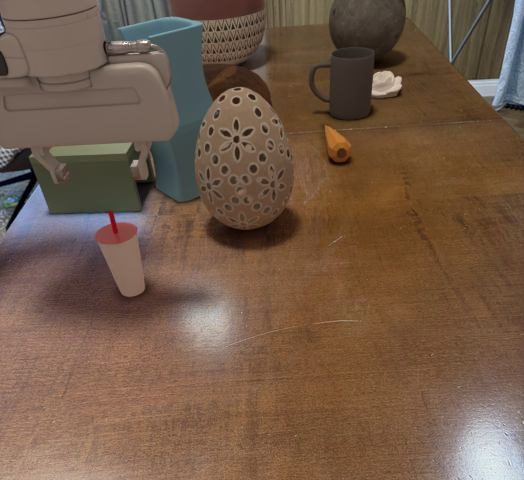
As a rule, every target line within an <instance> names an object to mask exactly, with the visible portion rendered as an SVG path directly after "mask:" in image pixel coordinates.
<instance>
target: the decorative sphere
mask: <svg viewBox="0 0 524 480" xmlns="http://www.w3.org/2000/svg"><path fill="white" fill-rule="evenodd" d="M329 9H330V10H329V15H328V30H329V36H330V39H331V42H332V44H333V46H334V47H335V50H337V49H341V48H348V47H363V48H369V49H371V50H373V51H374V62H375V61H376V62H377V61H378V60H380V59H382V58H383V57H385V56H386V55H388V54H389V53H390V52H391V51H392V50H393V49H394V48H395V46H396V45H397V44H398V42H399V40H400V39H401V36H402V34H403V32H404V29H405V25H406V19H407V6H406V1H405V0H333V1H332V3H331V6H330V8H329Z"/></svg>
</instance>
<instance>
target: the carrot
mask: <svg viewBox="0 0 524 480" xmlns="http://www.w3.org/2000/svg"><path fill="white" fill-rule="evenodd" d="M324 136H325V142H326V149H327V154H328V157H329V158H330V159H331V160H332V161H333V162H334V163H344V162H346V161H347V160H348V159H349V158H350V157H351V153H352V144H351V143H350V142H349V140H348V139H347V138H346V137H344V136H343V135H341V134H340V133H339V132H338V131H336V129H334V128H332V127H331V126H329V125H327V124H324Z"/></svg>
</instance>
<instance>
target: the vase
mask: <svg viewBox="0 0 524 480" xmlns="http://www.w3.org/2000/svg"><path fill="white" fill-rule="evenodd" d="M117 31H118V33H119V35H120V37H121V41H128V42H133V41H137V40H150V41H151V43H152V44H155V45H157V46H159V47H161V48H162V49H163V50H164V51H165V53H166V54H167V56H168V59H169V63H170V68H171V74H172V80H171V84H170V87H171V90H172V93H173V96H174V100H175V103H176V107H177V111H178V116H179V126H178V129H177V131H176V132H175V134H174V136H173V137H172V138H171V139H170V140H168V141H152V145H151V148H150V151H149V152H150V155H151V157H152V161H153V166H154V176H155V188H156V190H158V191H160V192H161V193H163V194H165V195H166V196H168V197H170V198H171V199H172V200H174V201H176V202H178V203H185V202H188V201H192V200H195V199H196V198H200V197H201V196H200V193H199V191H198V187H197V182H196V176H195V150H196V144H197V139H198V134H199V131H200V127H201V125H202V122H203V119H204V117H205V115H206V113H207V111H208V110H209V108H210V107H211V105H212V104H213V100H212V98H211V95H210V93H209V90H208V87H207V85H206V81H205V77H204V73H203V65H202V34H203V23H202V22H198V21H194V20H189V19H184V18H180V17H171V16H164V17H160V18H155V19H152V20H146V21H142V22H138V23H134V24H130V25H125V26H120V27H117ZM156 51H157V50H155V49H152V51H151V52H156ZM215 114H218V111H216V112H215ZM202 127H203V125H202ZM199 149H200V148H199ZM209 150H210V148H209V149H207V151H208V152H209ZM214 159H215V156H214V157H213V158H212V160H213V161H214ZM199 174H200V173H199ZM202 180H203V181H204V182H205V180H204V177H203V176H202ZM219 184H220V183H219ZM209 185H210V184H209ZM212 185H213V183H212ZM210 186H211V185H210Z"/></svg>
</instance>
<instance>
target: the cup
mask: <svg viewBox="0 0 524 480" xmlns="http://www.w3.org/2000/svg"><path fill="white" fill-rule="evenodd" d="M107 214H108V217H109V218H108V219H109V221H110V223H108V224H106V225H103V226H102V227H100V228H99V229H98V230H97V231H96V232H95V234H94V239H95V241H96V242H97V244H98V246H99V248H100V250H101V253H102V255H103V258H104V259H105V262H106V264H107V266H108V268H109V270H110V273H111V275H112V277H113V279H114V281H115V283H116V285H117V288H118V290H119V292H120V294H121V295H122V296H124V297H128V298H131V297H132V298H133V297H137V296H140V294H142V293H144V291H145V290H146V283H145V277H144V269H143V262H142V256H141V249H140V243H139V237H138V227H137V226H136V224H133V223H132V222H128V221H116V218H115V212H113V211H110V210H108V212H107Z"/></svg>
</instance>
